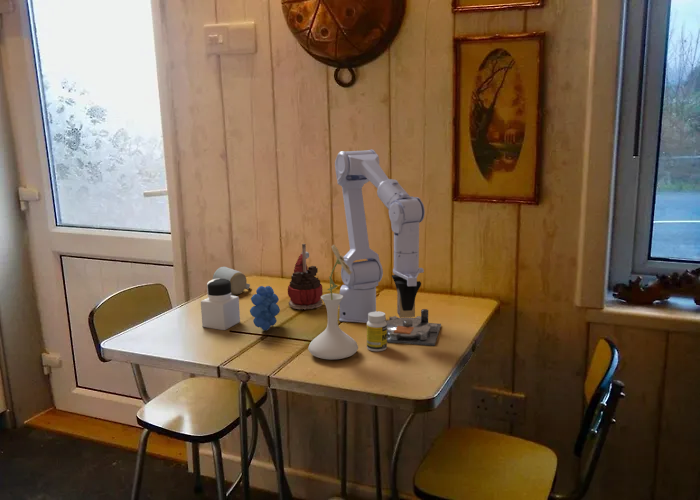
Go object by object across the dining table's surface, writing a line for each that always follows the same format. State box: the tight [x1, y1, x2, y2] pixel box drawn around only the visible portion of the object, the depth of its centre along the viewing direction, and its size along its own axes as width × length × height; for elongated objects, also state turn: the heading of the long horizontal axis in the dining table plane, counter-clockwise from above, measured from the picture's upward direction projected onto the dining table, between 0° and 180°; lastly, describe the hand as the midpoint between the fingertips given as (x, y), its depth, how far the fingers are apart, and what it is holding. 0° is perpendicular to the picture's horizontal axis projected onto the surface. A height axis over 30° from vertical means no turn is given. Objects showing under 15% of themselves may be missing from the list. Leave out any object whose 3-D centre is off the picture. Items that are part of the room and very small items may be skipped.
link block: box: [396, 288, 416, 318], centre depth 152 cm, size 4×4×6 cm
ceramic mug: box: [211, 266, 251, 296], centre depth 198 cm, size 11×8×8 cm
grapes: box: [249, 285, 281, 331], centre depth 163 cm, size 12×7×12 cm, turn 155°
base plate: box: [385, 319, 442, 347], centre depth 161 cm, size 15×14×1 cm
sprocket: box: [387, 308, 438, 340], centre depth 161 cm, size 14×15×4 cm
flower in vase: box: [307, 244, 359, 361], centre depth 147 cm, size 13×11×25 cm
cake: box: [287, 243, 324, 310], centre depth 182 cm, size 11×9×18 cm
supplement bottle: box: [366, 310, 388, 352], centre depth 151 cm, size 5×5×8 cm
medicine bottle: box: [200, 278, 241, 331], centre depth 169 cm, size 7×7×12 cm
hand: (405, 307), depth 152 cm, fingers closed on link block, 3 cm apart
